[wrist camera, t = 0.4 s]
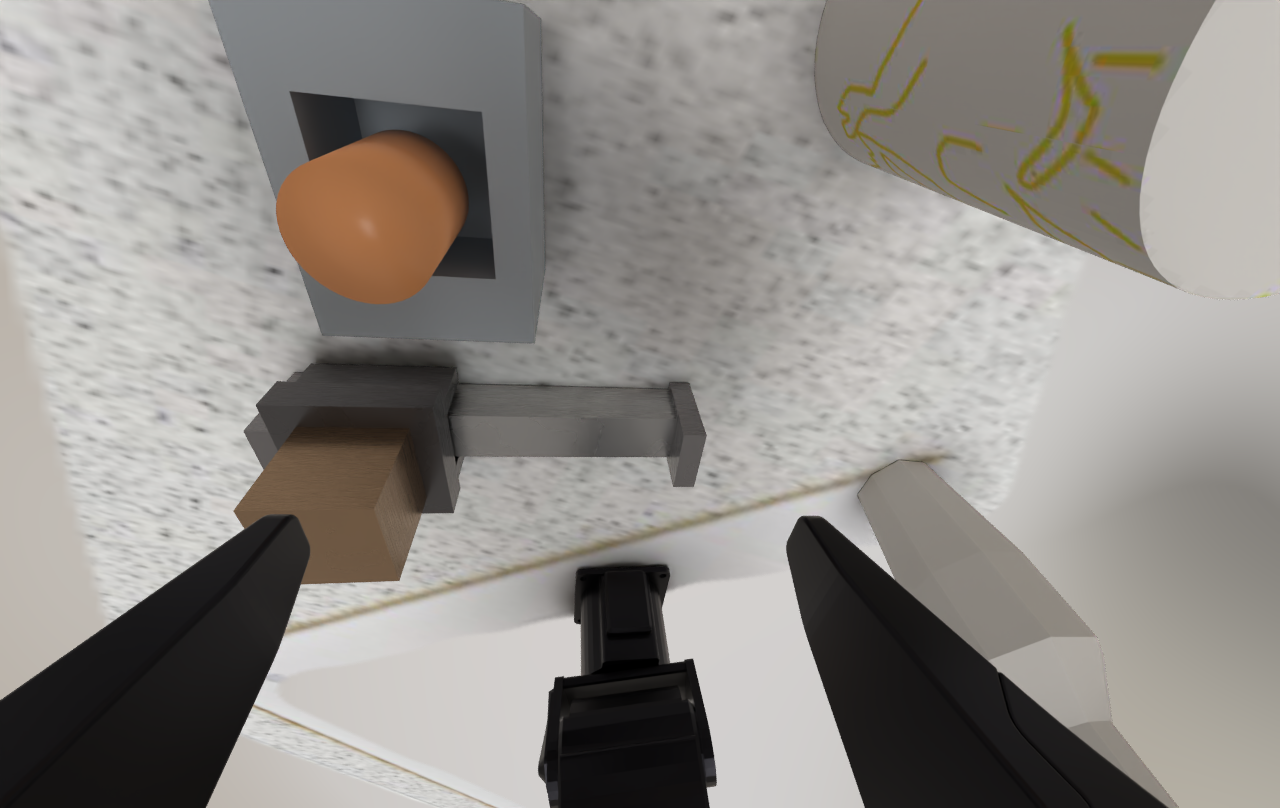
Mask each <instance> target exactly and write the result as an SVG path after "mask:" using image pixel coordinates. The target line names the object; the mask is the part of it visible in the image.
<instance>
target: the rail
mask: <svg viewBox="0 0 1280 808" xmlns="http://www.w3.org/2000/svg"><path fill="white" fill-rule="evenodd" d="M302 374H303V373H295V372H294V374H293V375H292V376H291V377H290V378H289V379H288V380H287V382H296V381H297V380H298V378H299V377H300V376H301V375H302ZM447 417H448V423H449V428H450V434H451V440H452V445H453V451H454V456H478V457H667V461H668V466H669V470H670V475H671V479H672V484H673V487H694V484H695V480H696V476H697V472H698V468H699V464H700V460H701V456H702V452H703V448H704V444H705V440H706V436H707V435H706V432H705V429H704V426H703V423H702V420H701V417H700V414H699V411H698V408H697V405H696V402H695V399H694V396H693V393H692V390H691V387H690V384H689V383H669V389H642V388H602V387H562V386H521V385H481V384H458V385H457V388H456V391H455V394H454V396H453V399H452V402H451V405H450V408H449V410H448V413H447ZM244 433H245V435H246V437H247V439H248V441H249V443H250V445H251V446H252V448H253V450H254V452H255V454H256V456H257V458H258V460H259V462H260V464H261V465H262V467H263V469H265V468H266V466H267V465H268V464H269V462H270V461H271V460H272V458H273V457H274V456H275V454H276V453H277V452H278V450H277V448H276V446H275V444H274V442H273V440H272V438H271V436H270V434H269V432H268V429H267V427H266V425H265V423H264V421H263V419H262V417H261V415H260V413H259V414H258V415H257V416H256V417H255V418H254V419H253V421H252V422H251V423H250V424H249V425H248V426H247V427H246V429H245V430H244Z"/></svg>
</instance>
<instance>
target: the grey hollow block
mask: <svg viewBox="0 0 1280 808" xmlns="http://www.w3.org/2000/svg"><path fill="white" fill-rule="evenodd" d="M208 1H209V4H210V7H211V10H212V13H213V15H214V18H215V21H216V24H217V27H218V30H219V33H220V36H221V39H222V42H223V45H224V48H225V51H226V54H227V57H228V60H229V63H230V65H231V68H232V71H233V74H234V77H235V80H236V83H237V86H238V89H239V92H240V95H241V98H242V101H243V104H244V107H245V110H246V113H247V116H248V118H249V121H250V124H251V127H252V130H253V133H254V136H255V139H256V142H257V145H258V148H259V151H260V154H261V157H262V160H263V163H264V166H265V168H266V171H267V174H268V177H269V180H270V183H271V186H272V189H273V192H274V195H275V198H276V201H277V197H278V193H279V190H280V188H281V185H282V184H283V182H284V180H285V179H286V177H287V176H288V175H289V174H290V173H291V172H292V171H293V170H295V169H296V168H297V167H299V166H300V165H302V164H305V163H307V162H309V161H311V160H314V159H316V158H318V157H321V156H323V155H325V154H328V153H330V152H332V151H335V150H337V149H340V148H342V147H344V146H347V145H349V144H351V143H354V142H356V141H358V140H361V139H363V138H366V137H368V136H370V135H373V134H375V133H377V132H381V131H384V130H405V131H410V132H413V133H417V134H419V135H421V136H424V137H426V138H427V139H429V140H431V141H432V142H434V143H435V144H437V145H438V146H439V147H441V148H442V149H443V150H444V151H445V152H446V153H447V154H448V155H449V156H450V157H451V159H452V160H453V161H454V163H455V164H456V165H457V167H458V168H459V170H460V172H461V174H462V176H463V178H464V181H465V184H466V187H467V191H468V197H469V209H468V215H467V219H466V221H465V224H464V226H463V227H462V229H461V231H460V232H459V234H458V235H457V237H456V238H455V240H454V242H453V243H452V245H451V246H450V248H449V249H448V251H447V253H446V254H445V256H444V257H443V259H442V260H441V262H440V263H439V265H438V267H437V268H436V270H435V271H434V273H433V274H432V276H431V278H430V279H429V281H428V282H427V284H426V285H425V286H424V287H423V288H422V289H421V290H420V291H419V292H418V293H417V294H415V295H413V296H412V297H410V298H408V299H405V300H403V301H400V302H396V303H390V304H369V303H363V302H359V301H355V300H352V299H349V298H346V297H344V296H341V295H339V294H337V293H335V292H333V291H331V290H329V289H328V288H326V287H325V286H323V285H322V284H320V283H319V282H318V281H316V280H315V279H314V278H313V277H311V276H310V275H309V274H308V273H307V272H306V271H305V270H304V269H303V268H302V267H301V266H300V265H299V263H298V262H297V263H298V266H299V268H300V271H301V274H302V277H303V280H304V283H305V286H306V289H307V292H308V295H309V298H310V301H311V304H312V307H313V310H314V313H315V316H316V319H317V321H318V324H319V327H320V330H321V333H322V335H324V336H350V337H377V338H403V339H429V340H455V341H482V342H508V343H534V344H535V337H536V330H537V323H538V316H539V309H540V302H541V295H542V288H543V281H544V274H545V236H544V175H543V114H542V53H541V18H540V17H538V16H537V15H536V14H535V13H534V12H532V11H531V10H530V9H529V8H528V7H526V6H525V5H524V4H521V3H514V2H507V1H500V0H208Z"/></svg>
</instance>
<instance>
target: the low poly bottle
mask: <svg viewBox="0 0 1280 808" xmlns="http://www.w3.org/2000/svg"><path fill="white" fill-rule="evenodd" d="M858 498H859V500H860V502H861V504H862V507H863V509H864V511H865V513H866V515H867V518H868V520H869V522H870V524H871V527H872V529H873V531H874V533H875V536H876V538H877V540H878V542H879V545H880V547H881V549H882V551H883V553H884V556H885V558H886V560H887V563H888V565H889V567H890V569H891V571H892V574H893V576H894V578H895V580H896V581H897V582H898V583H899V584H900V585H901V586H903V587H904V588H905V589H906V590H907V591H908V592H909V593H911V594H912V595H913V596H914V597H915V598H916V599H918V600H919V601H920V602H921V603H922V604H923V605H924V606H926V607H927V608H928V609H929V610H930V611H931V612H932V613H934V614H935V615H936V616H937V617H938V618H939V619H941V620H942V621H943V622H944V623H945V624H946V625H947V626H949V627H950V628H951V629H952V630H953V631H954V632H955V633H957V634H958V635H959V636H960V637H961V638H962V639H964V640H965V641H966V642H967V643H968V644H969V645H970V646H972V647H973V648H974V649H975V650H976V651H977V652H978V653H980V654H981V655H982V656H983V657H984V658H985V659H987V660H988V661H989V662H990V663H991V664H992V665H993V666H995V667H996V669H997V671H998V672H1001V673H1003V674H1004V675H1005V676H1006V677H1007V678H1009V679H1010V680H1011V681H1012V682H1013V683H1014V684H1016V685H1017V686H1018V687H1019V688H1020V689H1021V690H1022V691H1024V692H1025V693H1026V694H1027V695H1028V696H1029V697H1031V698H1032V699H1033V700H1034V701H1035V702H1037V703H1038V704H1039V705H1040V706H1041V707H1043V708H1044V709H1045V710H1046V711H1047V712H1048V713H1050V714H1051V715H1052V716H1053V717H1054V718H1056V719H1057V720H1058V721H1059V722H1060V723H1062V724H1063V725H1064V726H1065V727H1067V728H1068V729H1069V730H1070V731H1072V732H1073V733H1074V734H1075V735H1077V736H1078V737H1079V738H1080V739H1082V740H1083V741H1084V742H1085V743H1087V744H1088V745H1089V746H1090V747H1092V748H1093V749H1094V750H1095V751H1097V752H1098V753H1099V754H1100V755H1102V756H1103V757H1104V758H1105V759H1107V760H1108V761H1109V762H1111V763H1112V764H1113V765H1114V766H1116V767H1117V768H1118V769H1120V770H1121V771H1122V772H1123V773H1125V774H1126V775H1127V776H1129V777H1130V778H1131V779H1132V780H1134V781H1135V782H1136V783H1138V784H1139V785H1140V786H1141V787H1143V788H1144V789H1145V790H1147V791H1148V792H1149V793H1150V794H1152V795H1153V796H1154V797H1156V798H1157V799H1158V800H1159V801H1161V802H1162V803H1163V804H1165V805H1166V806H1167V807H1168V808H1179V807H1178V806H1177V804H1176V803H1175V802H1174V800H1173V799H1172V798H1171V797H1170V796H1169V794H1168V793H1167V792H1166V790H1165V789H1164V788H1163V787H1162V785H1161V784H1160V783H1159V782H1158V780H1157V779H1156V778H1155V777H1154V775H1153V774H1152V773H1151V771H1150V770H1149V769H1148V768H1147V767H1146V765H1145V764H1144V763H1143V762H1142V760H1141V759H1140V758H1139V756H1138V755H1137V754H1136V753H1135V751H1134V750H1133V749H1132V748H1131V746H1130V745H1129V744H1128V742H1127V741H1126V740H1125V739H1124V737H1123V736H1122V735H1121V734H1120V732H1119V731H1118V730H1117V729H1116V727H1115V726H1114V725H1113V722H1112V715H1111V707H1110V699H1109V692H1108V684H1107V676H1106V668H1105V660H1104V654H1103V651H1102V648H1101V646H1100V643H1099V640H1098V638H1097V636H1096V635H1095V634H1094V633H1093V632H1092V630H1090V628H1089V627H1088V626H1087V625H1086V624H1085V623H1084V621H1083V620H1082V619H1081V618H1080V617H1079V616H1078V615H1077V614H1076V612H1075V611H1074V610H1073V609H1072V608H1071V607H1070V606H1069V604H1068V603H1067V602H1066V601H1065V600H1064V599H1063V598H1062V597H1061V595H1060V594H1059V593H1058V592H1057V591H1056V590H1055V589H1054V587H1052V585H1051V584H1050V583H1049V582H1048V581H1047V580H1046V578H1045V577H1044V576H1043V575H1042V574H1041V573H1040V572H1039V571H1038V569H1037V568H1036V567H1035V566H1034V565H1033V564H1032V563H1031V561H1030V560H1029V559H1028V558H1027V557H1026V556H1025V555H1024V554H1023V552H1021V551H1020V550H1019V549H1018V548H1017V547H1016V546H1015V545H1014V544H1013V543H1012V542H1011V541H1009V540H1008V539H1007V538H1006V537H1005V536H1004V535H1003V534H1002V533H1001V532H1000V531H999V530H997V529H996V528H995V527H994V526H993V525H992V524H991V523H990V522H989V521H987V520H986V519H985V518H984V517H983V516H982V515H981V514H980V513H979V512H978V511H977V510H976V509H974V508H973V507H972V506H971V505H970V504H969V503H968V502H967V501H966V500H965V499H963V498H962V497H961V496H960V495H959V494H958V493H957V492H956V491H955V490H954V489H953V488H951V487H950V486H949V485H948V484H947V483H946V482H945V481H944V480H943V479H942V478H941V477H939V476H938V475H937V474H936V473H935V472H934V471H933V470H932V469H931V468H930V467H928V466H927V465H926V464H925V463H924V462H914V461H904V460H898V461H896V462H894V463H893V464H891V465H889V466H887V467H885V468H884V469H882V470H880V471H878V472H876V473H874V474H873V475H871V476H870V478H869V479H868V481H867V482H866V483H865V485H864V486H863V488H862V489H861V490H860V492H859V493H858Z"/></svg>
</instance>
